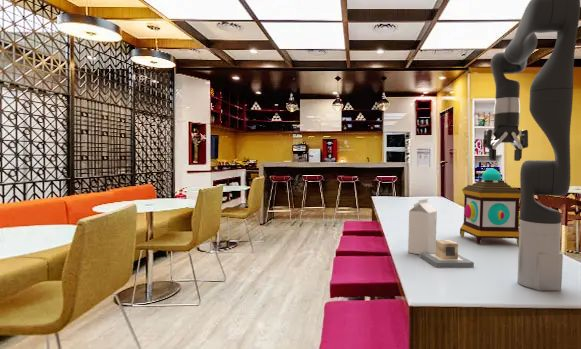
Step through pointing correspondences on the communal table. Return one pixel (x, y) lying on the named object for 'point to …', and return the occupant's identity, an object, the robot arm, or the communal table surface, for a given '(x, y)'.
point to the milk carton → (422, 228)
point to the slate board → (446, 261)
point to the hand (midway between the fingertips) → (505, 160)
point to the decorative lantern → (491, 208)
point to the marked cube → (446, 249)
